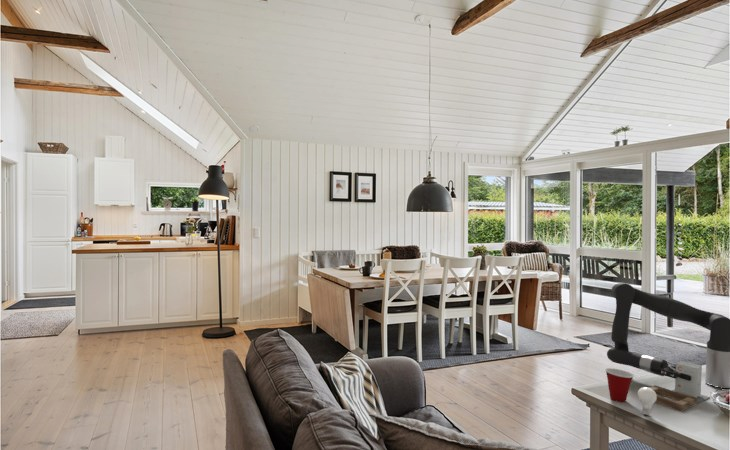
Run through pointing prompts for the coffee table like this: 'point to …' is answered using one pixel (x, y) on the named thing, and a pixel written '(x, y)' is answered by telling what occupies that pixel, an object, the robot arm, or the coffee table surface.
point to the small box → (694, 384)
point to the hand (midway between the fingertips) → (694, 376)
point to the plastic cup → (618, 383)
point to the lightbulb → (647, 399)
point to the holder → (679, 405)
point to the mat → (700, 398)
